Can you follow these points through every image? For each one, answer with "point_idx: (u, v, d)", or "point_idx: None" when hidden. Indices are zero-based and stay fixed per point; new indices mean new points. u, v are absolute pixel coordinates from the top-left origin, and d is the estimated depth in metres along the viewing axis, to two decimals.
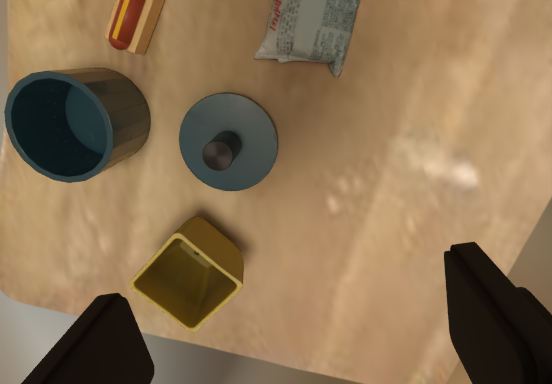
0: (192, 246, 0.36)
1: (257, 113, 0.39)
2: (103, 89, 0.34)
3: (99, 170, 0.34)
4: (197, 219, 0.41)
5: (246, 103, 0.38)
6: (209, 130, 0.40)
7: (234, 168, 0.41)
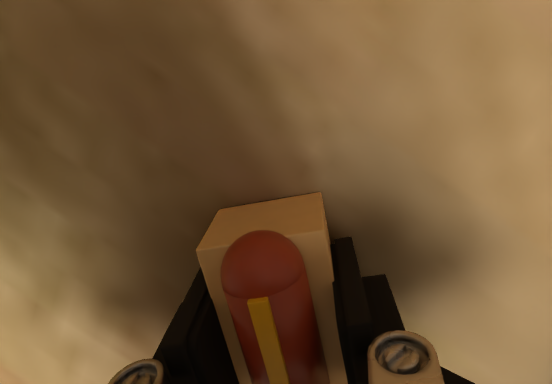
0: None
1: None
2: None
3: None
4: None
5: None
6: None
7: None
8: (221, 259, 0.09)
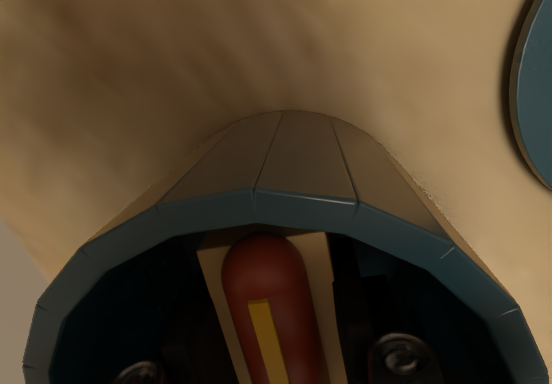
0: None
1: None
2: (313, 159, 0.07)
3: None
4: None
5: None
6: None
7: None
8: (221, 260, 0.09)
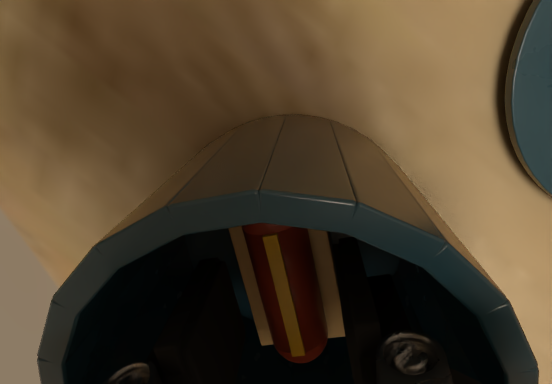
0: None
1: None
2: (315, 162, 0.08)
3: None
4: None
5: None
6: None
7: None
8: None
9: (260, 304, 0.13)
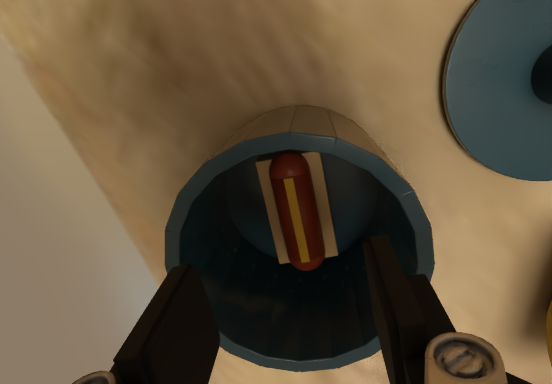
0: None
1: None
2: (316, 125, 0.14)
3: None
4: None
5: None
6: (510, 75, 0.18)
7: None
8: (268, 166, 0.18)
9: (279, 233, 0.19)
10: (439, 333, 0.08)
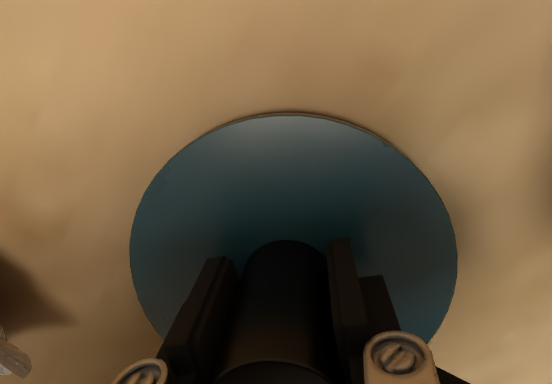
0: None
1: (148, 264, 0.12)
2: None
3: None
4: None
5: (152, 301, 0.13)
6: None
7: (345, 219, 0.11)
8: None
9: None
10: (385, 331, 0.08)
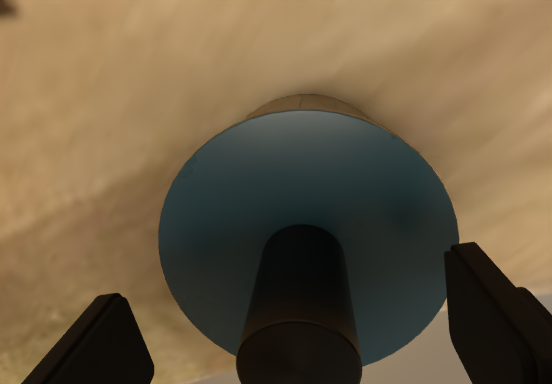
0: None
1: (175, 246, 0.14)
2: None
3: None
4: None
5: (178, 281, 0.14)
6: None
7: (356, 206, 0.12)
8: None
9: None
10: None
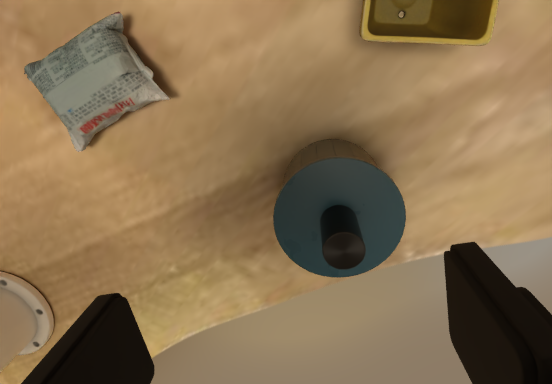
0: (367, 6, 0.25)
1: (281, 215, 0.31)
2: None
3: None
4: None
5: (281, 232, 0.31)
6: None
7: (362, 197, 0.30)
8: None
9: None
10: None
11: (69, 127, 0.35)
